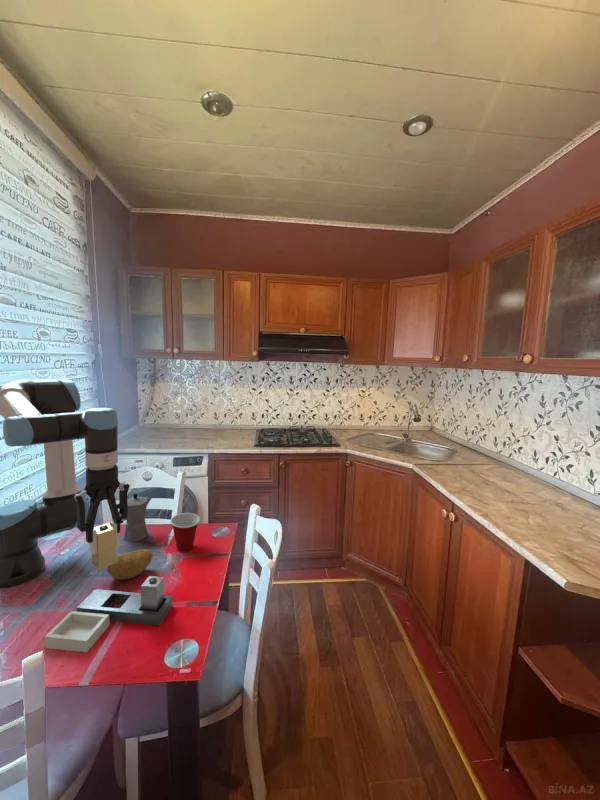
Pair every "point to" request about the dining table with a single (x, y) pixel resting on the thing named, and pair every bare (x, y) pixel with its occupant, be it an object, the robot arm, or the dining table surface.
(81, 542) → the dining table surface
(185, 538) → the plastic cup
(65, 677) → the dining table surface
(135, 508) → the coffeepot
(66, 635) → the parts tray
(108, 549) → the block with metal knob
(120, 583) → the dining table surface
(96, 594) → the rail
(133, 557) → the potato
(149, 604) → the square rod with stud
